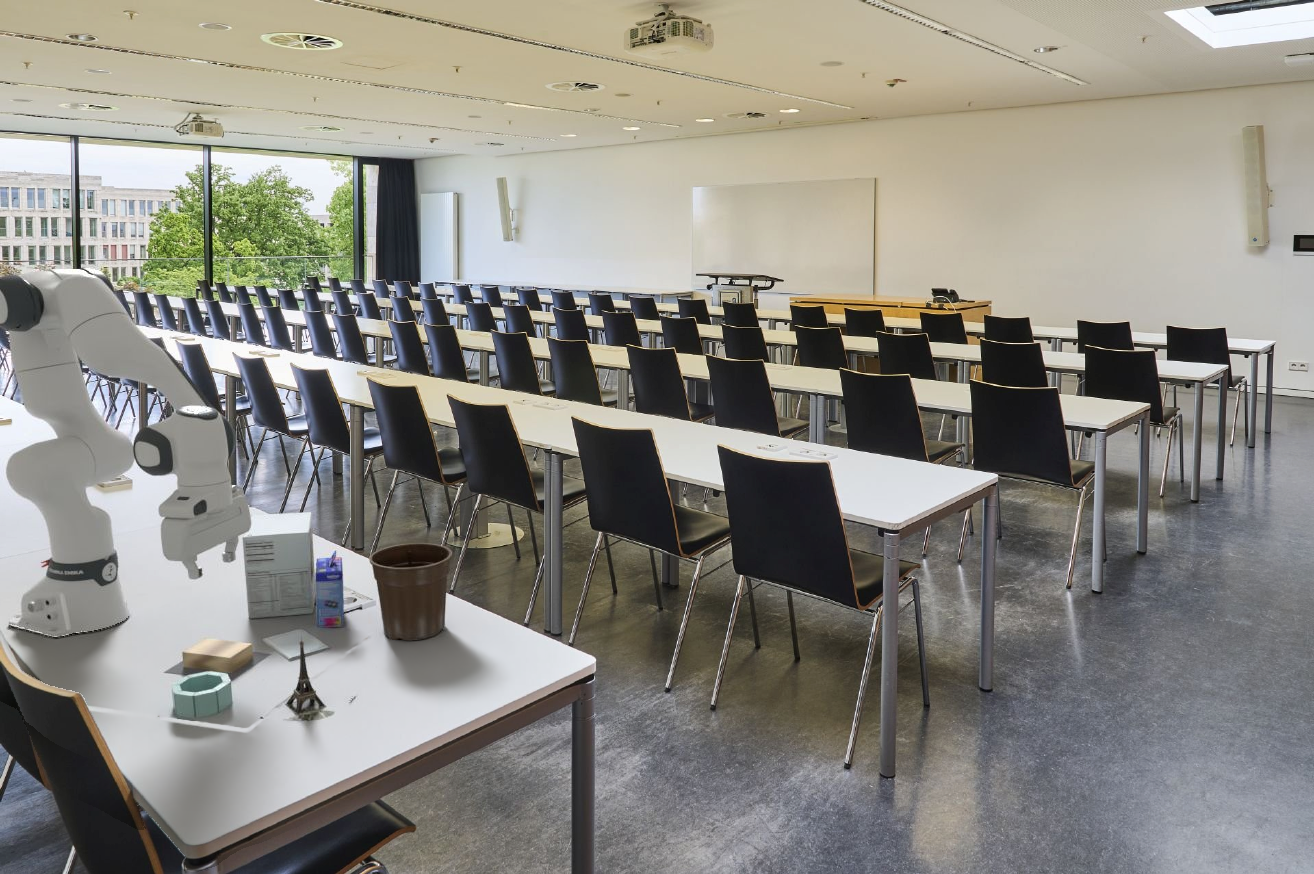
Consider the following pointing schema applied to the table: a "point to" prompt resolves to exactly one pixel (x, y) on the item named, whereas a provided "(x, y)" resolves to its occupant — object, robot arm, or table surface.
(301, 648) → the eiffel tower figurine
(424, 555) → the plant pot
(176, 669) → the mat
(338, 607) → the ink cartridge box
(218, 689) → the bowl
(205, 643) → the lid
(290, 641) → the hard drive
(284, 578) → the supplement box
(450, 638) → the table surface
